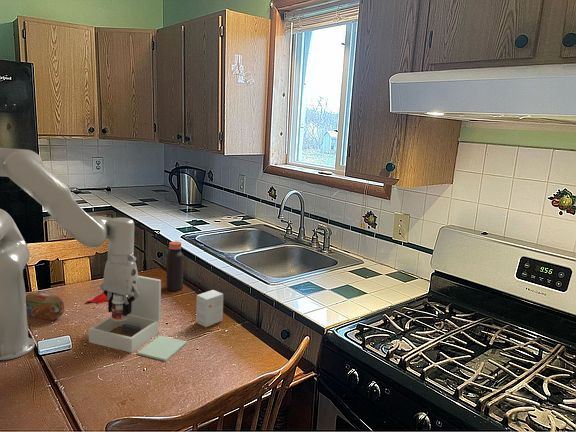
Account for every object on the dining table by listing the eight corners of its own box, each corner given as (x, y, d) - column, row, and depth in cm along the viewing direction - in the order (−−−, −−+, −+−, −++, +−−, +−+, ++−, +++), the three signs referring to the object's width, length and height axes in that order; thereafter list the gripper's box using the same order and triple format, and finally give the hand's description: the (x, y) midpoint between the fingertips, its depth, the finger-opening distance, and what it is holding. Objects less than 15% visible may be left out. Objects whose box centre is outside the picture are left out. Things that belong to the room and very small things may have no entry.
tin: (22, 315, 153) (21, 292, 152) (30, 311, 156) (28, 289, 155) (59, 322, 150) (58, 299, 148) (66, 318, 153) (65, 296, 151)
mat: (166, 361, 130) (166, 359, 130) (137, 354, 133) (137, 352, 133) (187, 343, 141) (187, 341, 141) (160, 337, 144) (160, 335, 144)
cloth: (142, 285, 189) (142, 280, 189) (154, 296, 179) (154, 290, 178) (76, 296, 173) (76, 291, 173) (85, 309, 163) (85, 303, 162)
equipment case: (131, 352, 134) (131, 295, 130) (88, 342, 138) (87, 286, 135) (160, 331, 148) (160, 279, 144) (120, 322, 153) (120, 272, 149)
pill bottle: (111, 316, 141) (112, 291, 140) (127, 315, 143) (127, 290, 141) (111, 322, 137) (111, 297, 135) (127, 321, 139) (128, 296, 137)
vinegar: (178, 284, 191) (179, 240, 187) (185, 289, 186) (186, 243, 182) (163, 287, 187) (163, 241, 183) (170, 292, 182) (171, 245, 178)
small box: (212, 316, 162) (213, 289, 160) (223, 320, 159) (223, 293, 157) (195, 322, 156) (196, 294, 154) (205, 327, 153) (206, 299, 151)
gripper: (151, 259, 137) (149, 313, 141) (106, 250, 142) (105, 303, 145) (136, 265, 130) (134, 322, 134) (89, 255, 135) (89, 311, 138)
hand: (119, 312), depth 139 cm, fingers closed on pill bottle, 4 cm apart
